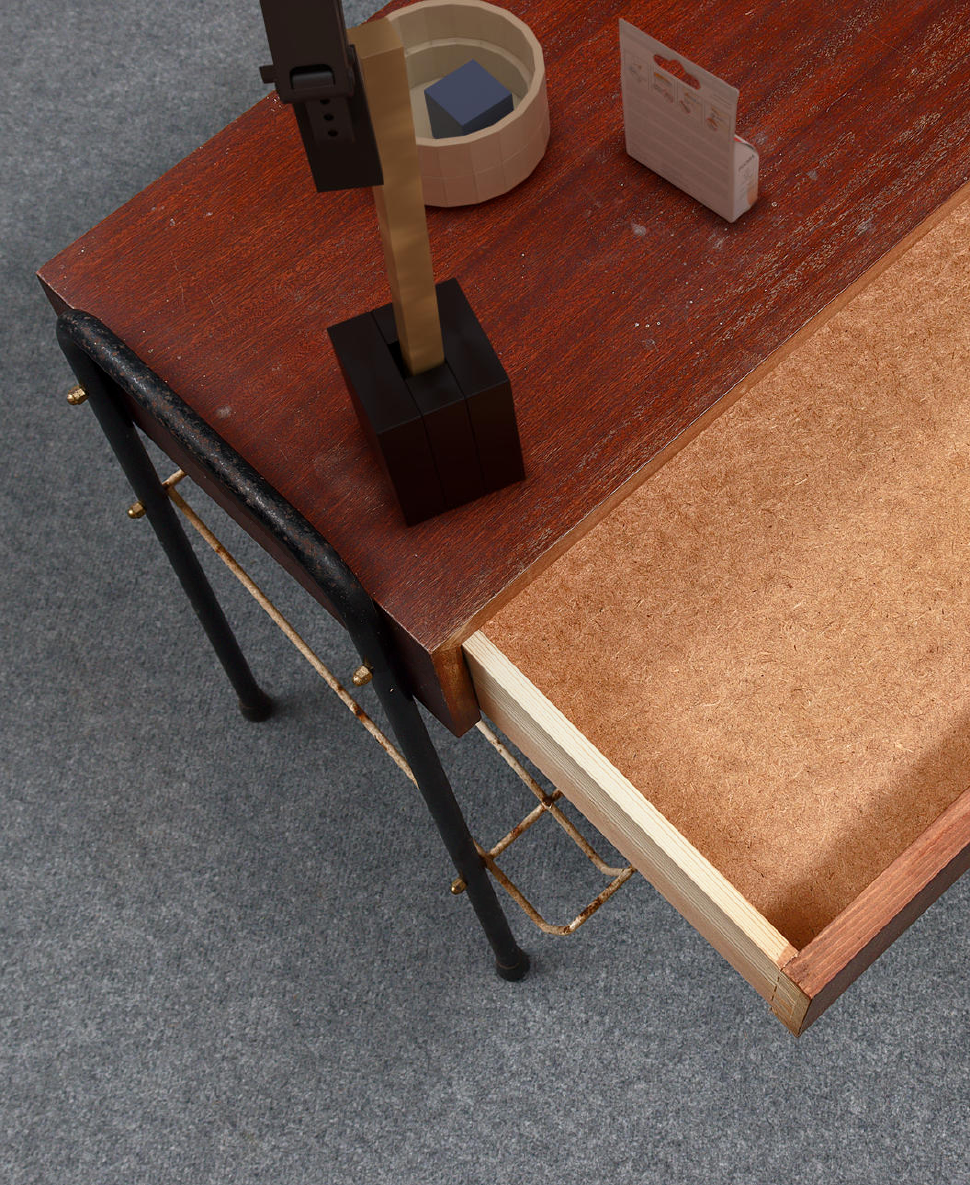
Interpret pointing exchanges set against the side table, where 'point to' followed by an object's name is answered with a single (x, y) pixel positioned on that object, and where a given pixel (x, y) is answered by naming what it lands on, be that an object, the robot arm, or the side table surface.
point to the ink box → (685, 127)
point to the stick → (400, 195)
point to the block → (466, 102)
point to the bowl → (513, 57)
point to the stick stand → (432, 409)
